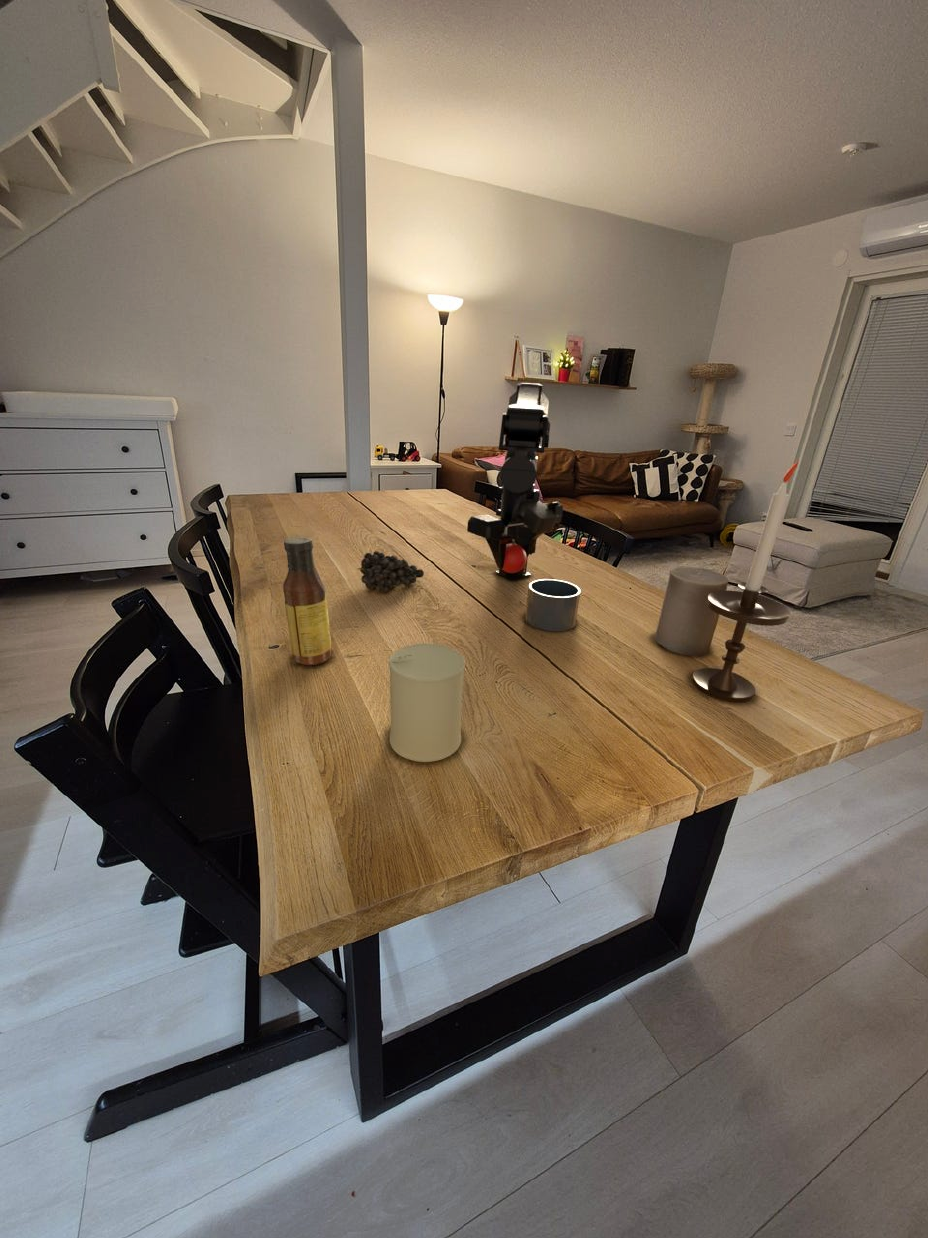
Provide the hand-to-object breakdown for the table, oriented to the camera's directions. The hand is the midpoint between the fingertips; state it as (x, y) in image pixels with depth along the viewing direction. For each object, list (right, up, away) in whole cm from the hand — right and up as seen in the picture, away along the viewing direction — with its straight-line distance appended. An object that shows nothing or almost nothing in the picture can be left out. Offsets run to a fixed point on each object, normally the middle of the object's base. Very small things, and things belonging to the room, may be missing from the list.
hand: (511, 566), depth 96 cm
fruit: (-25, -3, +16) cm, 30 cm away
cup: (+8, -10, +4) cm, 14 cm away
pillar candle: (+32, -15, -2) cm, 35 cm away
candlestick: (+32, -21, -16) cm, 42 cm away
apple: (0, -1, 0) cm, 1 cm away
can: (-14, -26, -32) cm, 43 cm away
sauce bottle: (-34, -17, -14) cm, 40 cm away
